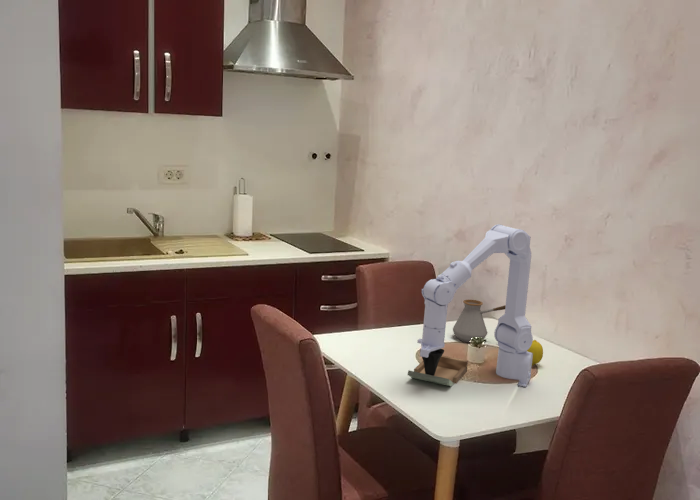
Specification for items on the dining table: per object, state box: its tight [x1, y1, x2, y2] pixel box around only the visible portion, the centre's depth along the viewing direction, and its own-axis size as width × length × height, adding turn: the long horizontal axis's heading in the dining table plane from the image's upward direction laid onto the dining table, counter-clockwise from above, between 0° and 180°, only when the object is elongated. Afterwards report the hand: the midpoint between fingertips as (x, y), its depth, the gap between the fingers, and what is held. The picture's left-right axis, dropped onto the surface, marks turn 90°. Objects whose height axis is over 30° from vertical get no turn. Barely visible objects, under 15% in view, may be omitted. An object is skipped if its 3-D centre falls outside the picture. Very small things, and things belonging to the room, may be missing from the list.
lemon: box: [527, 339, 544, 366], centre depth 198 cm, size 6×6×8 cm
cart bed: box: [413, 355, 469, 384], centre depth 184 cm, size 12×11×4 cm
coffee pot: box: [452, 299, 506, 343], centre depth 217 cm, size 21×12×15 cm, turn 62°
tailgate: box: [407, 369, 455, 388], centre depth 175 cm, size 11×1×7 cm
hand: (429, 375), depth 173 cm, fingers closed, pressing on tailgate
